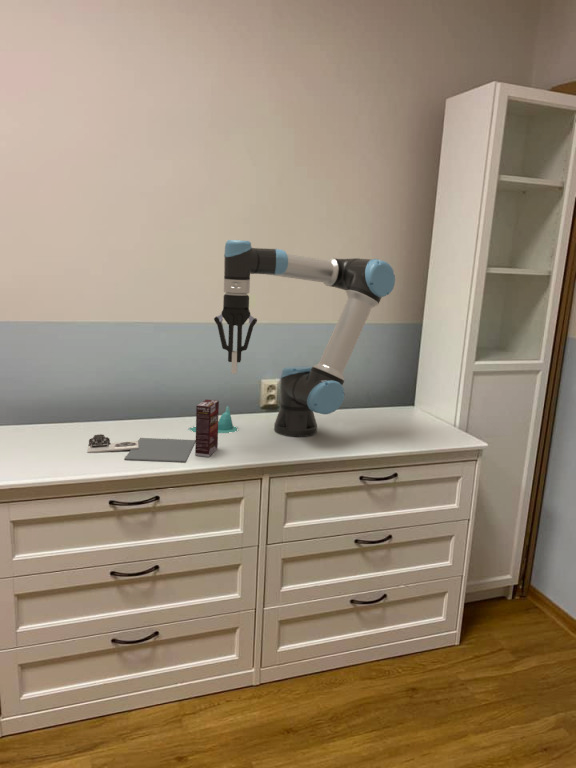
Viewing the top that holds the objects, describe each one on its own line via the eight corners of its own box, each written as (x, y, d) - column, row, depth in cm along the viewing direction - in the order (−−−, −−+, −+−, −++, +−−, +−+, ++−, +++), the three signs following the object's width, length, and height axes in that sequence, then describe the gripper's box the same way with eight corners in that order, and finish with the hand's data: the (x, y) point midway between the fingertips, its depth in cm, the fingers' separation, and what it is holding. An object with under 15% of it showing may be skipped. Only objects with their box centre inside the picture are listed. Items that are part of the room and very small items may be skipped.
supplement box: (209, 457, 183) (210, 407, 180) (194, 455, 184) (195, 405, 181) (218, 448, 192) (219, 400, 188) (204, 447, 193) (204, 398, 189)
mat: (195, 441, 198) (195, 440, 198) (185, 462, 178) (185, 461, 178) (140, 439, 198) (140, 437, 197) (124, 460, 178) (124, 458, 178)
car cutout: (87, 453, 183) (86, 438, 182) (88, 446, 189) (87, 432, 188) (138, 449, 186) (137, 435, 185) (138, 442, 193) (137, 428, 192)
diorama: (184, 425, 216) (184, 402, 215) (240, 424, 220) (240, 401, 218) (185, 435, 205) (185, 411, 203) (243, 434, 209) (244, 410, 207)
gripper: (212, 293, 174) (211, 374, 179) (258, 296, 174) (255, 376, 179) (215, 292, 181) (214, 369, 186) (259, 294, 181) (256, 371, 186)
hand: (234, 372), depth 183 cm, fingers closed
